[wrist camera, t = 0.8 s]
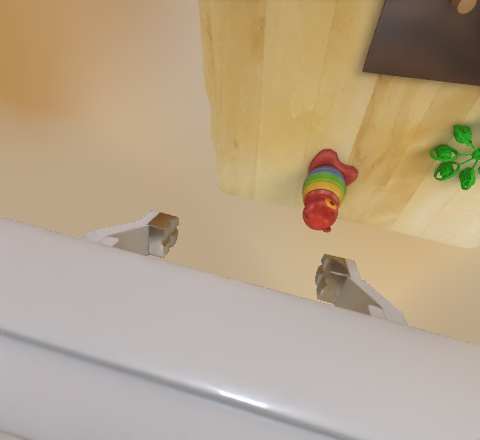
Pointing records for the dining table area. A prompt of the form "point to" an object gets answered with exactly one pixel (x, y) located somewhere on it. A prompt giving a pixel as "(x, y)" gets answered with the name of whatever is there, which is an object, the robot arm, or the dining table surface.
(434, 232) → the dining table surface
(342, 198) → the stacking bear
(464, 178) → the chandelier
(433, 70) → the ring toss board
